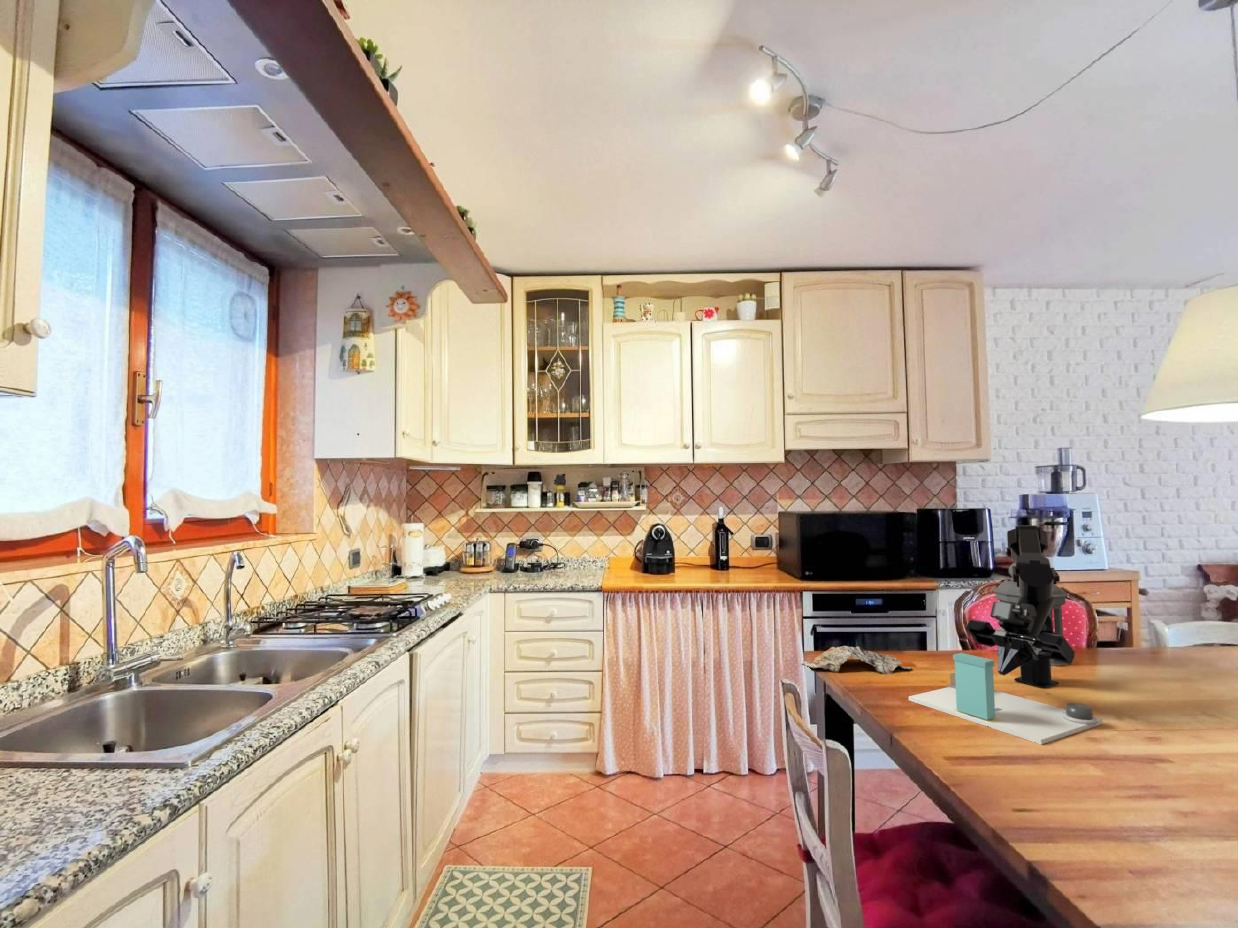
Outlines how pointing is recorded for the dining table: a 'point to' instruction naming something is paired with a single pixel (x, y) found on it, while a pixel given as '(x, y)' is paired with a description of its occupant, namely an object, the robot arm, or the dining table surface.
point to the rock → (840, 655)
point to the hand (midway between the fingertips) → (1001, 673)
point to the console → (1017, 714)
